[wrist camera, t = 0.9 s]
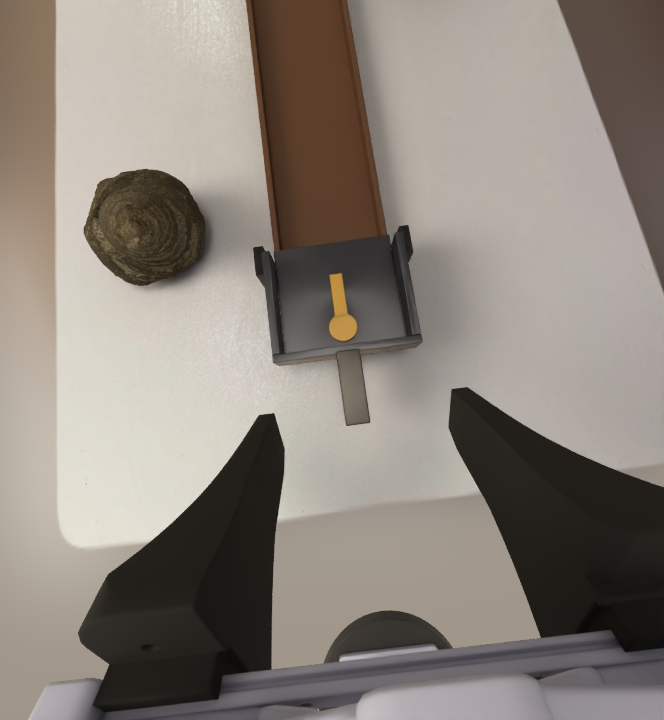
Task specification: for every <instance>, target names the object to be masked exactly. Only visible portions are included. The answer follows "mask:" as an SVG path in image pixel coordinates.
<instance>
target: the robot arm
mask: <svg viewBox="0 0 664 720" xmlns="http://www.w3.org/2000/svg"><path fill="white" fill-rule="evenodd" d="M449 430H450V432H451V435H452V438H453V440H454V443H455V445H456V448H457V450H458V452H459V454H460V455H461V457H462V459H463V461H464V463H465V465H466V466H467V468H468V470H469V472H470V473H471V475H472V477H473V479H474V481H475V482H476V484H477V486H478V488H479V490H480V491H481V493H482V495H483V496H484V498H485V500H486V502H487V504H488V506H489V508H490V510H491V512H492V515H493V517H494V519H495V521H496V524H497V526H498V528H499V530H500V533H501V535H502V537H503V540H504V542H505V545H506V547H507V549H508V552H509V554H510V556H511V559H512V561H513V564H514V566H515V569H516V572H517V574H518V577H519V579H520V582H521V585H522V587H523V590H524V592H525V595H526V597H527V600H528V603H529V606H530V609H531V611H532V614H533V617H534V620H535V622H536V625H537V628H538V631H539V633H540V636H541V638H537V639H529V640H520V641H512V642H504V643H495V644H486V645H478V646H469V647H461V648H452V649H444V650H438V649H437V646H436V645H435V644H432V643H429V644H420V645H412V646H403V647H395V648H386V649H378V650H369V651H361V652H352V653H344V654H342V655H341V656H340V658H339V662H333V663H324V664H316V665H307V666H299V667H291V668H282V669H274V670H271V640H272V639H271V638H272V634H271V633H272V632H271V631H272V587H273V562H274V544H275V531H276V524H277V517H278V510H279V504H280V497H281V490H282V483H283V476H284V452H285V449H284V445H283V442H282V439H281V435H280V432H279V428H278V425H277V422H276V418H275V415H274V413H272V414H265V415H259V416H258V417H257V419H256V421H255V422H254V424H253V425H252V427H251V428H250V430H249V432H248V433H247V435H246V436H245V438H244V439H243V441H242V442H241V444H240V445H239V447H238V448H237V449H236V451H235V452H234V454H233V455H232V457H231V458H230V459H229V461H228V462H227V463H226V465H225V466H224V467H223V469H222V470H221V471H220V472H219V474H218V475H217V476H216V478H215V479H214V480H213V481H212V482H211V484H210V485H209V486H208V487H207V488H206V489H205V490H204V491H203V493H202V494H201V495H200V496H199V497H198V498H197V499H196V500H195V501H194V502H193V503H192V504H191V505H190V506H189V507H188V508H187V509H186V510H185V511H184V512H183V513H182V514H181V515H180V516H179V517H178V518H177V519H176V520H175V521H174V522H173V523H171V524H170V525H169V526H168V527H167V528H166V529H165V530H164V531H162V532H161V533H160V534H159V535H158V536H157V537H155V538H154V539H153V540H152V541H151V542H150V543H148V544H147V545H146V546H145V547H143V548H142V549H141V550H140V551H138V552H137V553H136V554H134V555H133V556H132V557H131V558H130V559H128V560H127V561H125V562H124V563H123V564H121V565H120V566H119V567H118V568H116V569H115V570H113V571H112V572H111V573H109V574H108V576H107V577H106V579H105V581H104V583H103V584H102V586H101V588H100V590H99V592H98V594H97V596H96V598H95V600H94V602H93V604H92V606H91V608H90V610H89V611H88V613H87V615H86V618H85V619H84V621H83V623H82V626H81V627H80V630H79V632H78V635H79V638H80V641H81V643H82V644H83V645H84V646H85V647H86V648H87V649H89V650H91V651H92V652H93V653H94V654H96V655H97V656H99V657H100V658H102V659H103V660H104V661H106V662H107V663H108V664H110V665H109V667H108V669H107V672H106V674H105V677H104V679H103V680H101V679H96V678H85V679H76V680H68V681H60V682H51V683H49V684H48V685H47V686H46V687H45V689H44V691H43V692H42V694H41V696H40V698H39V700H38V702H37V704H36V706H35V708H34V710H33V711H32V714H31V715H30V717H29V719H28V720H664V487H661V486H658V485H655V484H651V483H649V482H646V481H643V480H640V479H638V478H635V477H632V476H630V475H627V474H624V473H622V472H619V471H617V470H614V469H612V468H609V467H607V466H604V465H602V464H600V463H597V462H595V461H593V460H590V459H588V458H586V457H584V456H581V455H579V454H577V453H575V452H573V451H571V450H569V449H567V448H565V447H563V446H561V445H559V444H557V443H555V442H553V441H551V440H549V439H547V438H545V437H544V436H542V435H540V434H538V433H536V432H535V431H533V430H531V429H530V428H528V427H526V426H525V425H523V424H521V423H520V422H518V421H517V420H515V419H513V418H512V417H510V416H509V415H507V414H506V413H504V412H503V411H501V410H500V409H498V408H497V407H495V406H494V405H492V404H491V403H489V402H488V401H487V400H485V399H484V398H482V397H481V396H479V395H478V394H476V393H475V392H474V391H472V390H471V389H469V388H468V387H464V388H457V389H452V391H451V403H450V415H449ZM337 706H342V707H337ZM328 707H337V708H333V709H328V710H324V711H320V712H318V710H317V709H320V708H328Z"/></svg>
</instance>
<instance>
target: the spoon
mask: <svg viewBox="0 0 664 720" xmlns="http://www.w3.org/2000/svg"><path fill="white" fill-rule="evenodd" d="M330 283H331V290H332V297H333V304H334V311H335V317H333V318H332V320H331V322H330V324H329V331H330V334H331V336H332V337H333V338H334V339H335V340H337V341H340V342H347V341H349V340H351V339H352V338H354V336H355V335H356V333H357V323H356V320H355V319H354V318H353V317H352V316H351V315H348V312H347V305H346V298H345V291H344V285H343V278H342V273H340V274H333V275H330Z"/></svg>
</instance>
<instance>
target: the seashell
mask: <svg viewBox="0 0 664 720" xmlns="http://www.w3.org/2000/svg"><path fill="white" fill-rule="evenodd" d="M84 235H85V237H86V240H87V242H88V243H89V245H90V247H91V249H92V250H93V251H94V253H95V254H96V255H97V257H98V258H99V260H100V261H101V262H102V263H103V264H104V265H105V266H106V267H107V268H108V269H109V270H111V271H112V272H113V273H114V275H115V276H118V277H120V278H121V279H123V280H124V281H125V282H128V283H131V284H134V285H139V286H144V285H149V284H151V283H153V282H156V281H159V280H162V279H167V278H170V277H173V276H175V275H176V274H178V273H180V272H182V271H184V270H185V269H187V267H188V266H189V265H190V264H191V263H193V262H194V261H196V260H198V259H199V258H200V256H201V254H202V251H203V248H204V242H205V222H204V218H203V216H202V214H201V212H200V210H199V208H198V206H197V203H196V202H195V201H194V199H193V197H192V195H191V194H190V191H189V189H188V188H187V187H186V186H185V185H184V184H183V183H182V182H181V181H180V180H178V179H177V178H175V177H173V176H171V175H169V174H167V173H165V172H162V171H158V170H148V169H142V170H136V171H128V172H122V173H120V174H119V175H117V176H116V177H114V178H106V179H104V180H103V181H101V182H99V184H98V185H97V189H96V191H95V197H94V199H93V202H92V205H91V208H90V212H89V216H88V218H87V221H86V225H85V226H84Z"/></svg>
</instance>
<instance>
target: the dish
mask: <svg viewBox="0 0 664 720" xmlns="http://www.w3.org/2000/svg"><path fill="white" fill-rule="evenodd" d="M391 247H392V250H391ZM392 253H393V255H392ZM274 259H275V263H274V261H273V258H272V256H271V254H270V252H269V251H265V252H262V263H263V272H264V281H265V291H266V300H267V309H268V319H269V328H270V337H271V347H272V354H273V355H272V357H273V363H275V364H276V365H278V366H284V365H292V364H299V363H306V362H313V361H321V360H328V359H335V358H337V362H338V370H339V377H340V384H341V392H342V399H343V406H344V413H345V421H346V426H350V425H357V424H364V423H370V416H369V410H368V403H367V396H366V390H365V383H364V376H363V369H362V363H361V356H360V355H364V354H371V353H378V352H386V351H393V350H400V349H407V348H414V347H417V346H418V345H420V344H421V343H422V336H421V331H420V325H419V320H418V314H417V309H416V303H415V298H414V292H413V286H412V281H411V275H410V270H409V264H408V259H407V253H406V248H405V242H404V236H403V232H396V233H395V235H394V238H393V242H392V245H391V244H390V238H389V235H382V236H376V237H369V238H362V239H355V240H348V241H341V242H335V243H328V244H321V245H314V246H307V247H300V248H294V249H287V250H280V251H274ZM393 259H394V261H393ZM394 265H395V267H394ZM275 268H276V270H275ZM395 270H396V273H395ZM340 273H342V278H343V285H344V291H345V298H346V305H347V312H348V315H351V316H352V317H353V318H354V319H355V320H356V323H357V333H356V335H355V336H354V338H352V339H351V340H349V341H347V342H340V341H337V340H335V339H334V338H333V337H332V336H331V334H330V331H329V324H330V322H331V320H332V318H333V317H335V311H334V304H333V297H332V290H331V283H330V275H333V274H340ZM276 276H277V279H276ZM396 276H397V279H396ZM397 282H398V284H397ZM277 285H278V288H277ZM398 288H399V290H398ZM278 294H279V297H278ZM399 294H400V296H399ZM400 299H401V302H400ZM279 303H280V306H279ZM401 305H402V307H401ZM402 311H403V313H402ZM280 312H281V314H280ZM403 317H404V319H403ZM281 321H282V323H281ZM404 323H405V325H404ZM405 328H406V331H405ZM282 329H283V332H282ZM406 334H407V336H406ZM283 338H284V341H283ZM284 347H285V350H284Z"/></svg>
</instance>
